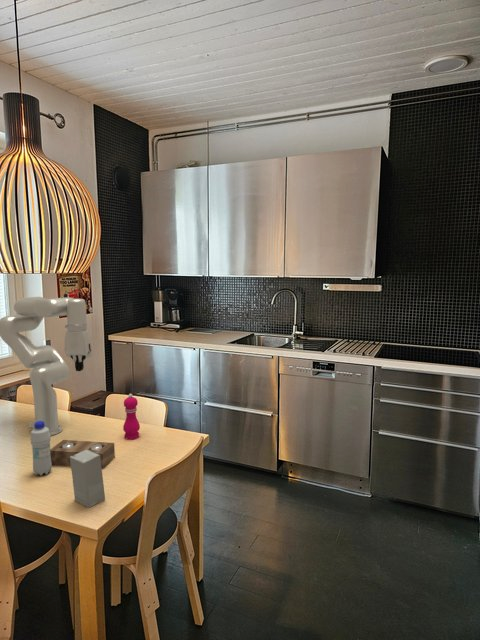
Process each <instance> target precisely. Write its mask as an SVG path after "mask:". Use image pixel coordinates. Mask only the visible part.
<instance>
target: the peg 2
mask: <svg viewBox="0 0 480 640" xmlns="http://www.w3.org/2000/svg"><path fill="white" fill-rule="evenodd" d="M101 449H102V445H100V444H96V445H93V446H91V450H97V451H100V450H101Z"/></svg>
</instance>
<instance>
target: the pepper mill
mask: <svg viewBox="0 0 480 640" xmlns="http://www.w3.org/2000/svg"><path fill="white" fill-rule="evenodd" d="M123 406H124V407H125V408H124V410H125V411H124V412H125V413H126V414H125V416H126V418H125V421H124V423H123V428H122V430H123V432H124V439H126V440H130V441H131V440H137V439H138V438H139V437H140V433H139V431H140V428H141V424H140V423H139V420H138V418H137V414H136V413H137V406H138V400H137V398H136V397H134V396H133V394H132V393H129V394H128V397H126V398H125V399H124V401H123Z"/></svg>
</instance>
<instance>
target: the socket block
mask: <svg viewBox="0 0 480 640" xmlns="http://www.w3.org/2000/svg"><path fill="white" fill-rule="evenodd" d="M65 443H73V447H72V448H71V449H66V448H63V447H62V445H63V444H65ZM96 444H100V445H102V449H101V450H100V451H97V450H91V446H93V445H96ZM85 450H89V451H91V452H94V453H96V454H98V455H100V459H101V468H102V470H105V468H106V467H107V466H108V465H109V464H110V463H111V462H112V461H113V460H114V459H115V457H116V455H115V454H116V453H115V452H116V451H115V450H116V449H115V442H107V441H103V442H102V441H89V440H88V441H87V440H73V439H72V440H71V439H62V440H61V441H59V442H58V443H57V444H56V445H54V446H53V447H50V456H51V463H52V466H54V465H56V467H57V466H59V467H69V468H71V463H70V457H71V456H73V455H75V454H78V453H80V452H82V451H85Z"/></svg>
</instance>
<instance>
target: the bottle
mask: <svg viewBox="0 0 480 640" xmlns="http://www.w3.org/2000/svg"><path fill="white" fill-rule="evenodd" d="M34 426H35V429H34V428H32V430H31V431H30V444H31V450H32V470H33V473H34V475H35V476H37V475H38V476H40V477H42V476H43V474H44V475H46V474H47V475H49V473H51V471H52V468H53V467H52V466H53V465H52V463H51V456H50V449H51V437H52V436H50V432H49V428H47V427H45V423H44V422H43V421H37V422H36V423H35V424H34ZM48 472H49V473H48Z"/></svg>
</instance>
